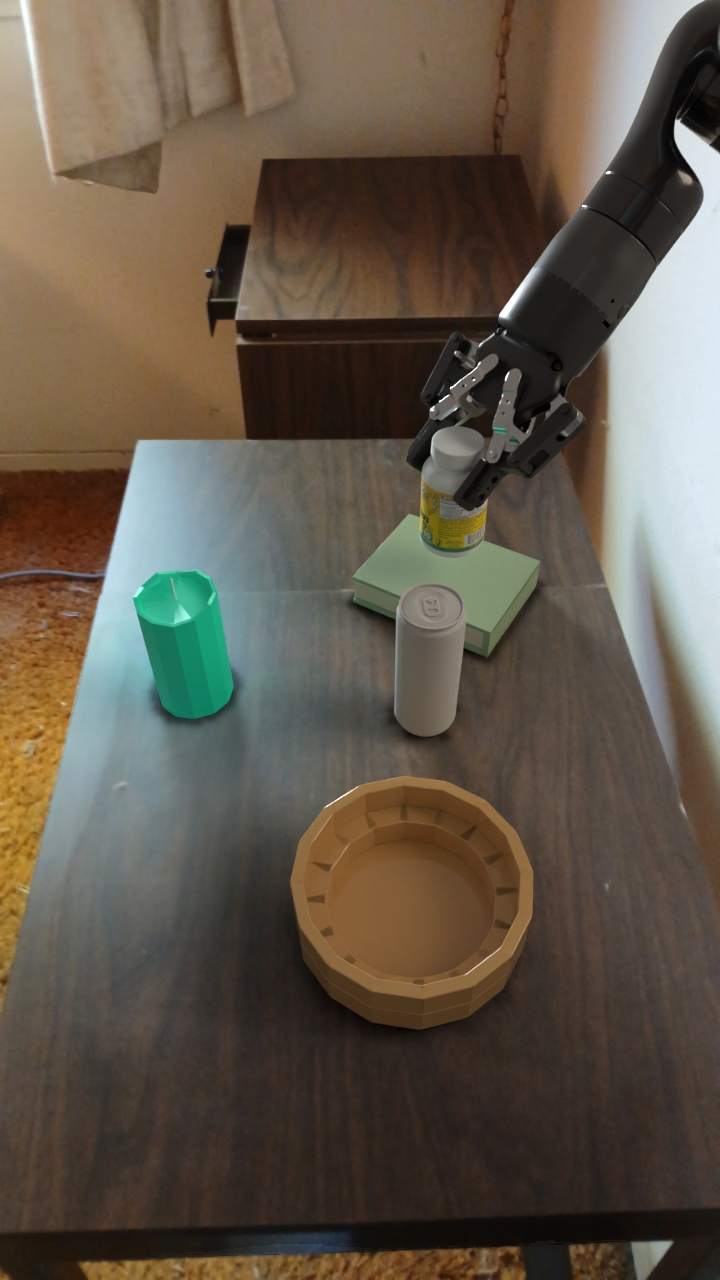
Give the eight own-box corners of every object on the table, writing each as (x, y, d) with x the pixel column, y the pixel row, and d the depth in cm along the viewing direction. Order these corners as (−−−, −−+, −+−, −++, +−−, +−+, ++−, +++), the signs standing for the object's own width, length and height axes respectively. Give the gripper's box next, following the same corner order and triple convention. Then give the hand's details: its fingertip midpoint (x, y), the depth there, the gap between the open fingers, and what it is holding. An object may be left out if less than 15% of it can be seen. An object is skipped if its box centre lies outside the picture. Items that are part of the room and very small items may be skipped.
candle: (247, 675, 72) (230, 564, 63) (208, 729, 68) (184, 619, 60) (184, 653, 74) (159, 542, 65) (143, 704, 70) (110, 593, 61)
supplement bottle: (483, 561, 72) (494, 463, 65) (417, 558, 72) (421, 460, 65) (483, 519, 76) (493, 421, 69) (420, 517, 76) (424, 419, 69)
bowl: (558, 879, 59) (570, 840, 56) (459, 1079, 51) (465, 1048, 47) (370, 785, 65) (370, 744, 61) (252, 952, 56) (243, 915, 52)
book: (536, 586, 79) (540, 561, 77) (487, 657, 73) (490, 632, 71) (408, 538, 84) (409, 513, 82) (352, 602, 78) (352, 576, 76)
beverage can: (451, 690, 71) (462, 579, 62) (460, 738, 67) (472, 628, 59) (391, 694, 71) (393, 583, 62) (396, 742, 67) (399, 632, 59)
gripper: (488, 233, 66) (356, 425, 70) (629, 307, 57) (470, 520, 62) (533, 284, 72) (409, 459, 76) (668, 358, 63) (520, 550, 67)
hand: (437, 485), depth 69 cm, fingers closed on supplement bottle, 5 cm apart
